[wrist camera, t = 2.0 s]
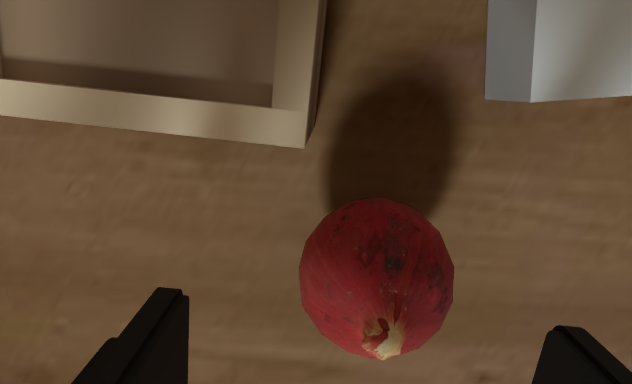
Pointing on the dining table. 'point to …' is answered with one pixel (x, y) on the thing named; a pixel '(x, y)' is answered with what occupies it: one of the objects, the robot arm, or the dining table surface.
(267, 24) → the wooden open box
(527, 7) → the grey block
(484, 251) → the dining table surface
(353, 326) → the pomegranate
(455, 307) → the dining table surface
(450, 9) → the dining table surface
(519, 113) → the dining table surface
